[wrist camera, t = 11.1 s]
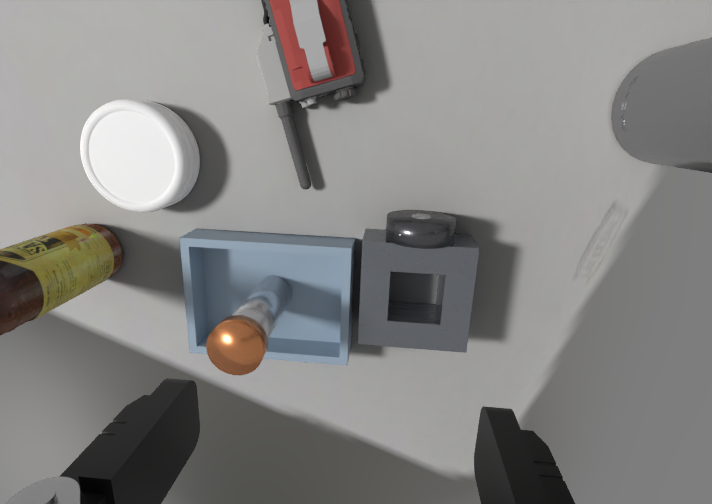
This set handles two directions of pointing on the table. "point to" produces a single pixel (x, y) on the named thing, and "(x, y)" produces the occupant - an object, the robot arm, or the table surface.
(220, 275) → the tray
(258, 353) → the lock pin
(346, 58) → the walkie-talkie
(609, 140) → the table surface
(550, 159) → the table surface
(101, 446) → the robot arm
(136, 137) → the white round disc stack
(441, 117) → the table surface
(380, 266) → the block
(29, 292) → the sauce bottle
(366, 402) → the table surface
